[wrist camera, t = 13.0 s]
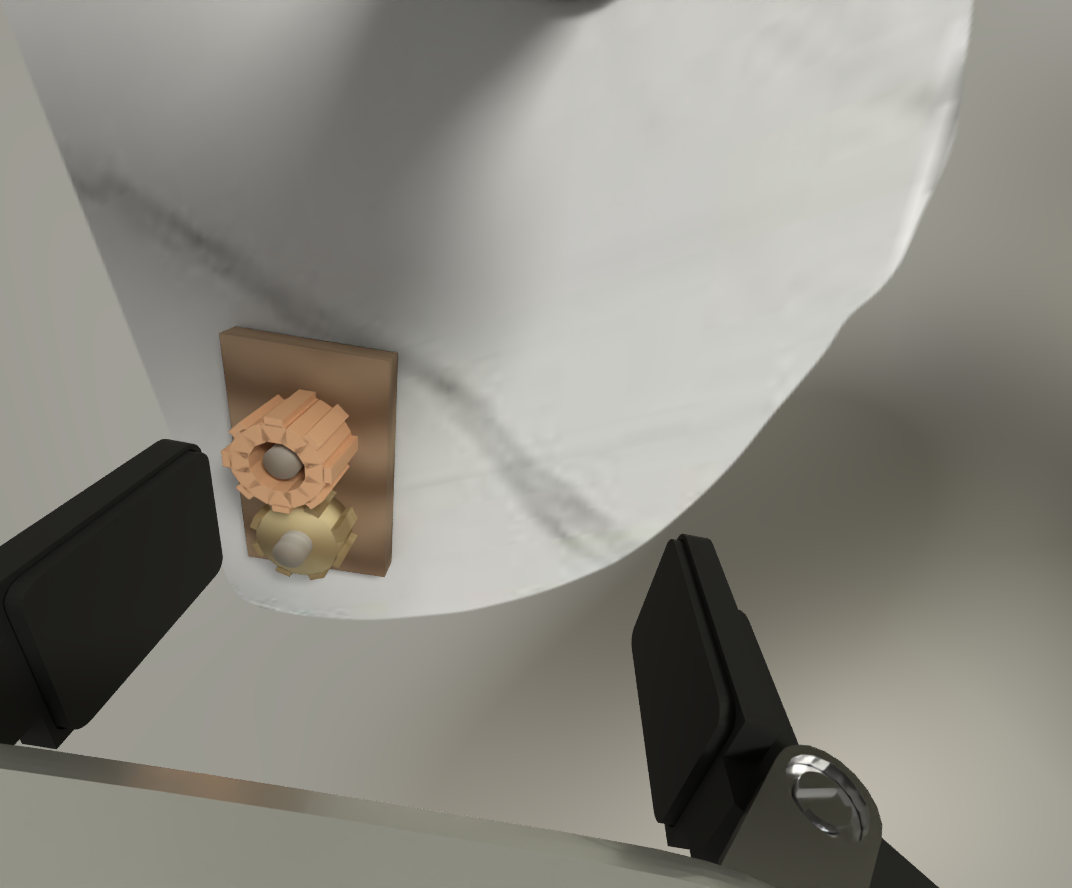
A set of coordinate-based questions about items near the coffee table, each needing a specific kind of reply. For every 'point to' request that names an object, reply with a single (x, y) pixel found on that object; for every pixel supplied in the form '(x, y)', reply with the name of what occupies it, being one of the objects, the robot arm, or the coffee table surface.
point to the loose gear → (303, 431)
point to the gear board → (332, 386)
